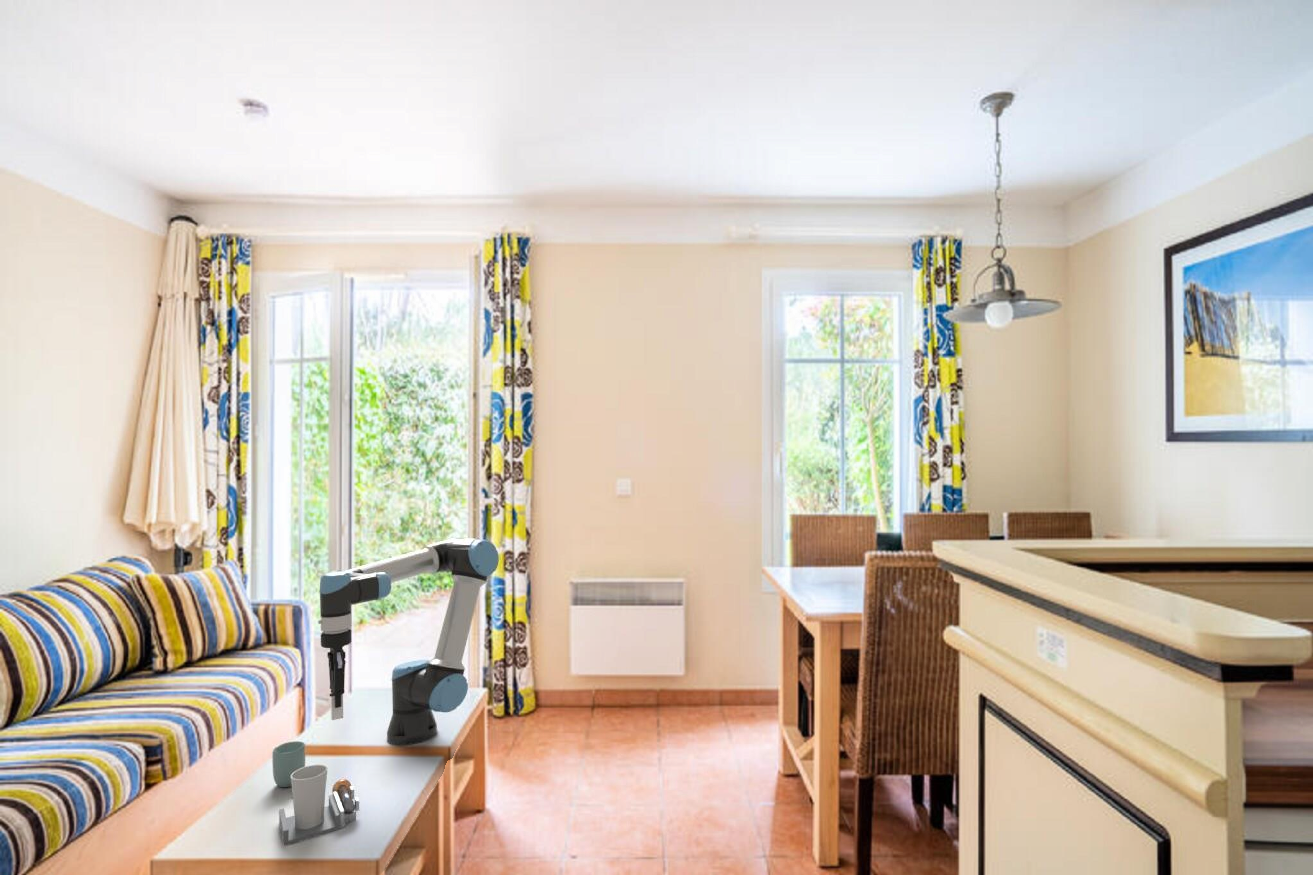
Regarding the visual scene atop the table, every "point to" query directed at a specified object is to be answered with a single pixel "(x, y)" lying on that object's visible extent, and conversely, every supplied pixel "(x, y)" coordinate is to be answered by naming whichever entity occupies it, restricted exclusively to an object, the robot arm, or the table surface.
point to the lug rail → (344, 816)
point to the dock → (294, 835)
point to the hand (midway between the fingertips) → (337, 718)
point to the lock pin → (344, 795)
